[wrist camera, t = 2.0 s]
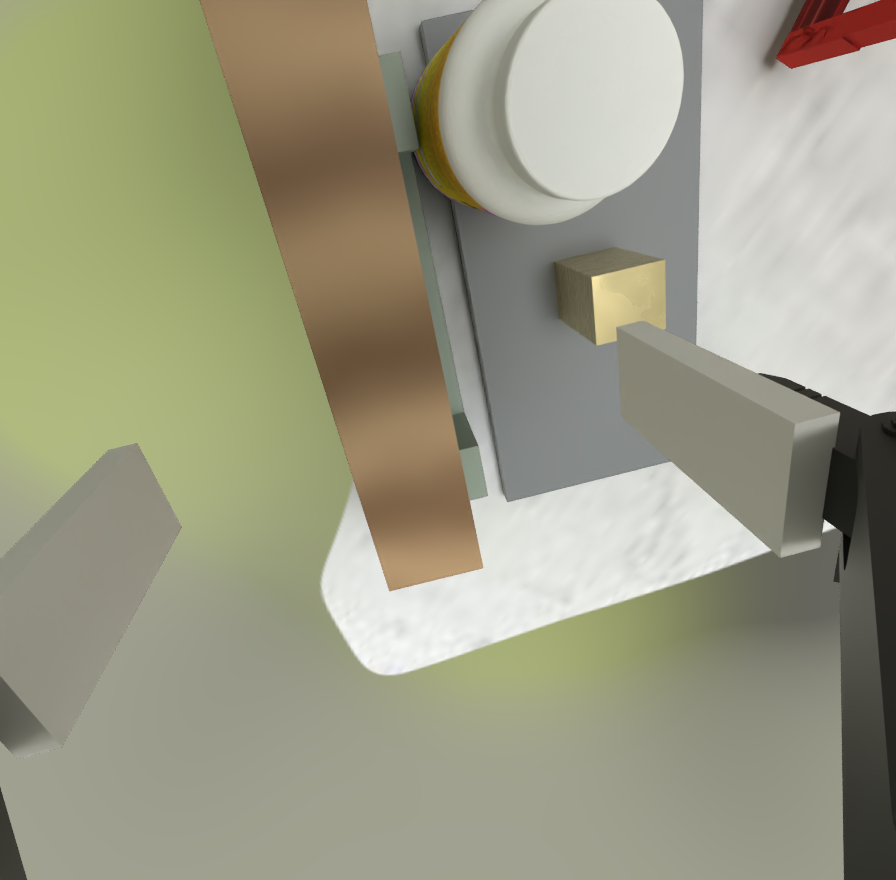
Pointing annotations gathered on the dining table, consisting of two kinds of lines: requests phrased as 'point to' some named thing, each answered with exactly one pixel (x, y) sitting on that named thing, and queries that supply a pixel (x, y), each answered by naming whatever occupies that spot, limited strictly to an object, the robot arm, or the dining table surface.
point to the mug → (836, 30)
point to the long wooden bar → (352, 265)
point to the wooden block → (610, 292)
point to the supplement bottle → (548, 105)
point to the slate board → (536, 307)
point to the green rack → (429, 265)
